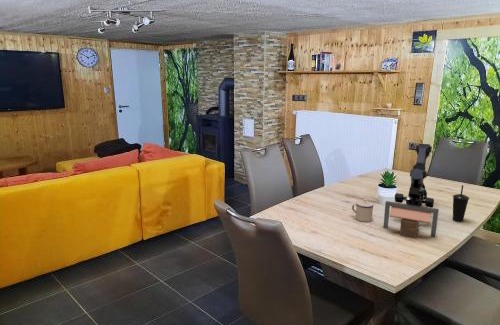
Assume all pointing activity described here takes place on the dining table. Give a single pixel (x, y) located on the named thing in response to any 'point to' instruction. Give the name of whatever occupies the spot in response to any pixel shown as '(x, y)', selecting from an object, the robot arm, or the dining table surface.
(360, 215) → the teacup with lid
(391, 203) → the gate frame
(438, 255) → the dining table surface
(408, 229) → the block
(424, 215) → the flap door
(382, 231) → the dining table surface
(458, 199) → the drinking cup
